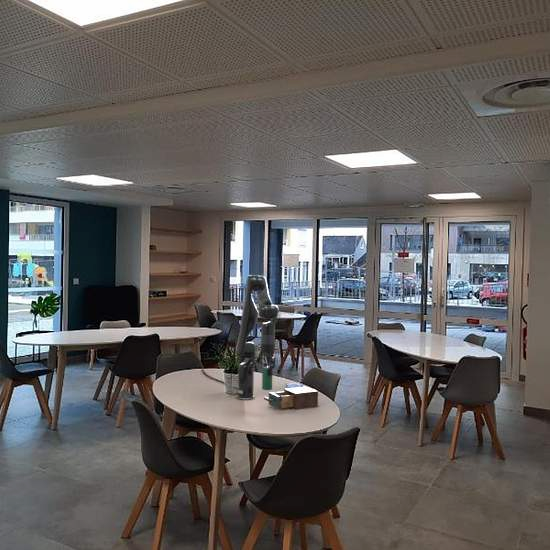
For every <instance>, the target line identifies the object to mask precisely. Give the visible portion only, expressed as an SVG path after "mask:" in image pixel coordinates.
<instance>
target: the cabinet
mask: <svg viewBox="0 0 550 550" xmlns="http://www.w3.org/2000/svg"><path fill="white" fill-rule="evenodd" d="M285 391H287V392H289V393H291V394H294V407H290V408H291V409H293V410H302V409H309V408H318V406H319V390H316V389H314V388H311V387H308V386H303V387H298V388H288V389H285V388H284V389H283V392H285Z"/></svg>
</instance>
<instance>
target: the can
mask: <svg viewBox="0 0 550 550" xmlns="http://www.w3.org/2000/svg"><path fill="white" fill-rule="evenodd" d="M261 371H262V372H261V373H262V375H261V389H262V390H263V391H272V390H273V375H272V376H268V366H263V367H262V370H261Z"/></svg>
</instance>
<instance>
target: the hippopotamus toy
mask: <svg viewBox="0 0 550 550" xmlns="http://www.w3.org/2000/svg"><path fill="white" fill-rule="evenodd" d="M298 387H304V385H303V384H301V383H297V382H290V383H288V384H287V383H285V386H284V389H288V388H298Z"/></svg>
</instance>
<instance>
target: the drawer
mask: <svg viewBox="0 0 550 550" xmlns="http://www.w3.org/2000/svg"><path fill="white" fill-rule="evenodd" d="M263 400H265V401H266V402H268V405H269V406H270V407H273V408H274V409H276V410H281V409H284V408H291V407H294V394H291V393H289V392H287V391H285V392H284V391H275V392H271V391H269V392H268V397H266V396H264V397H263Z"/></svg>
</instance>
